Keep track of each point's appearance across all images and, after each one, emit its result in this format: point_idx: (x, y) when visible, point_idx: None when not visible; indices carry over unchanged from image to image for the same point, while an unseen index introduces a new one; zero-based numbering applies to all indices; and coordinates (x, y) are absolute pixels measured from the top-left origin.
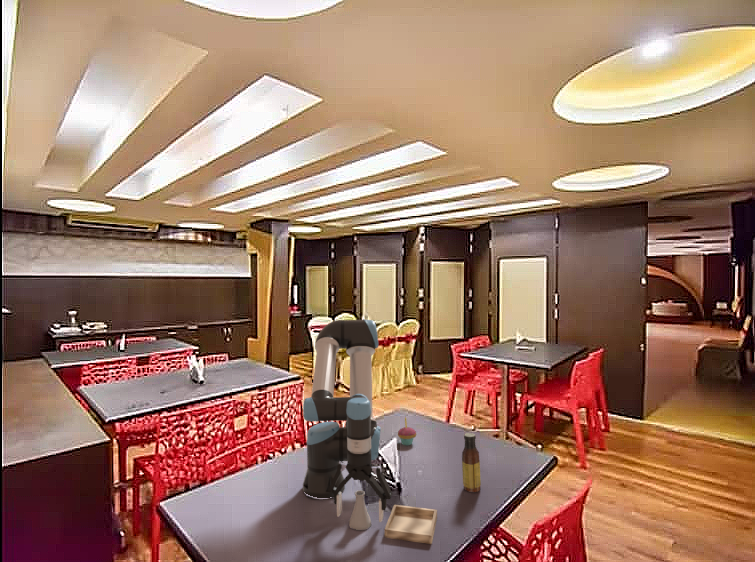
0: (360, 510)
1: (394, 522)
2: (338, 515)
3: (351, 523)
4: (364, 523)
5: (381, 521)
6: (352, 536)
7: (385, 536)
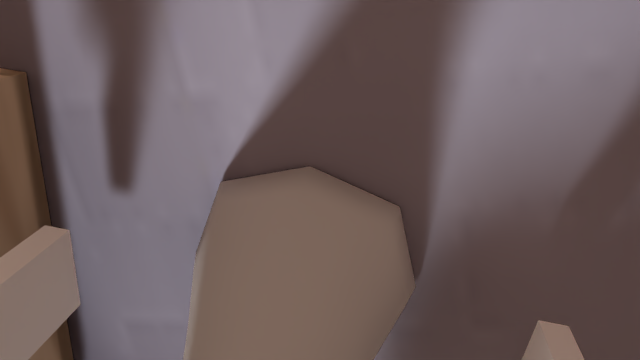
0: (233, 340)
1: None
2: (550, 330)
3: (376, 231)
4: (226, 219)
5: (43, 232)
6: (345, 65)
7: (7, 73)
